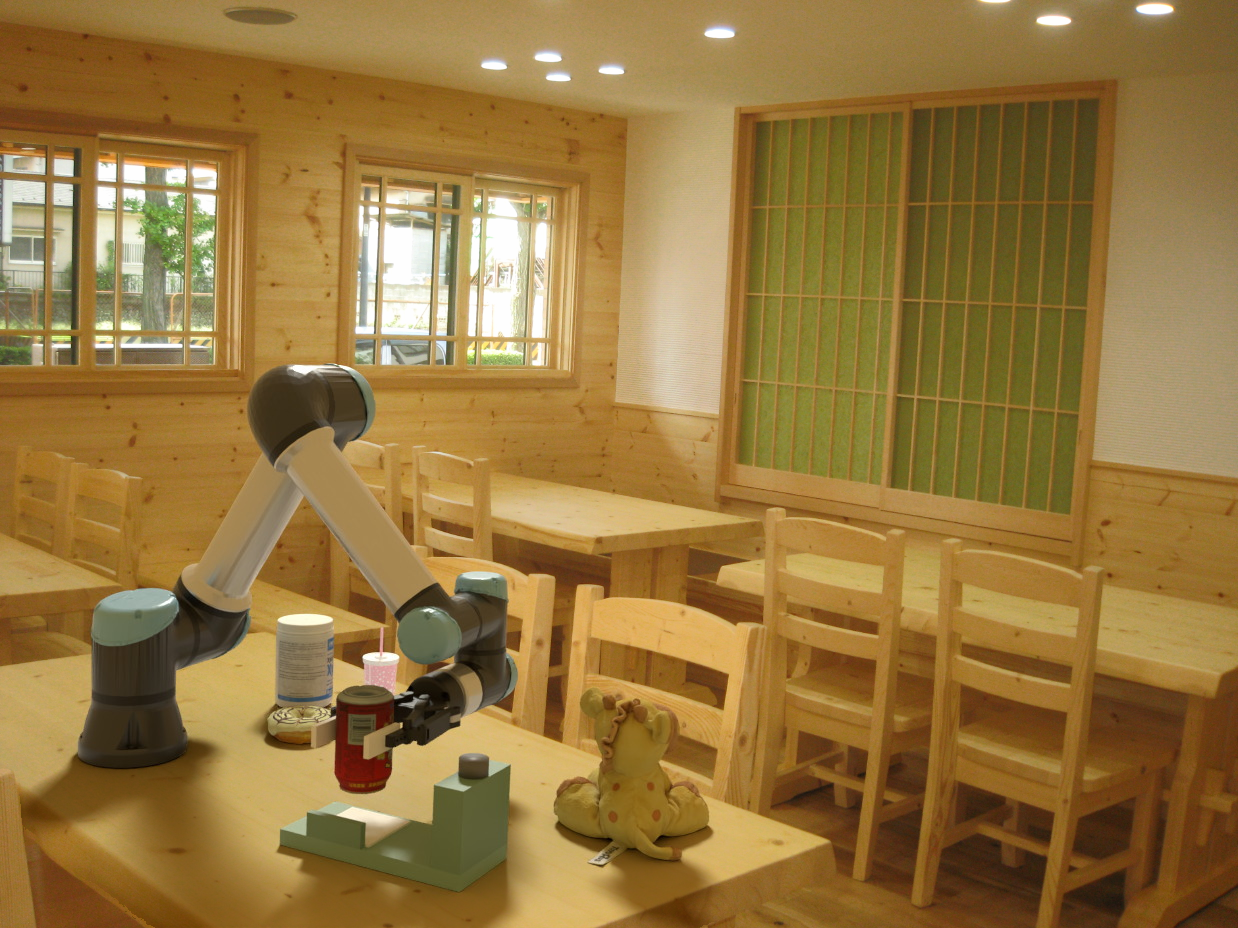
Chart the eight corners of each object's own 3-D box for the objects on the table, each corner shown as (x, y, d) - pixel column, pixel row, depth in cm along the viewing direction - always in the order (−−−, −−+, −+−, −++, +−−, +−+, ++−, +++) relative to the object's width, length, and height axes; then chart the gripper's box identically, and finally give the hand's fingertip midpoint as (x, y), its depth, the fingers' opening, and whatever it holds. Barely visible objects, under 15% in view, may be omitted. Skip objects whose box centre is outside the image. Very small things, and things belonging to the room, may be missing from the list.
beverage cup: (405, 707, 215) (407, 627, 213) (380, 715, 209) (382, 633, 208) (378, 700, 218) (381, 621, 216) (353, 708, 213) (355, 627, 211)
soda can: (395, 794, 154) (397, 696, 153) (336, 797, 152) (338, 699, 151) (388, 774, 161) (390, 681, 160) (331, 778, 159) (333, 683, 158)
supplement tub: (340, 708, 213) (343, 622, 211) (285, 714, 207) (287, 627, 206) (320, 693, 221) (322, 611, 219) (266, 699, 215) (269, 615, 214)
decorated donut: (260, 745, 192) (260, 721, 192) (275, 723, 203) (275, 701, 203) (329, 747, 193) (329, 723, 193) (340, 725, 204) (340, 702, 203)
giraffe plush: (714, 810, 175) (722, 675, 173) (690, 879, 152) (699, 725, 150) (572, 792, 179) (579, 660, 177) (527, 857, 156) (534, 706, 154)
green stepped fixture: (279, 844, 156) (282, 734, 154) (334, 815, 166) (337, 712, 164) (459, 891, 145) (464, 774, 144) (506, 858, 155) (511, 748, 154)
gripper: (505, 735, 168) (408, 787, 148) (381, 711, 177) (273, 757, 156) (507, 681, 168) (410, 725, 147) (383, 659, 176) (274, 698, 155)
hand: (339, 742), depth 151 cm, fingers closed on soda can, 7 cm apart
